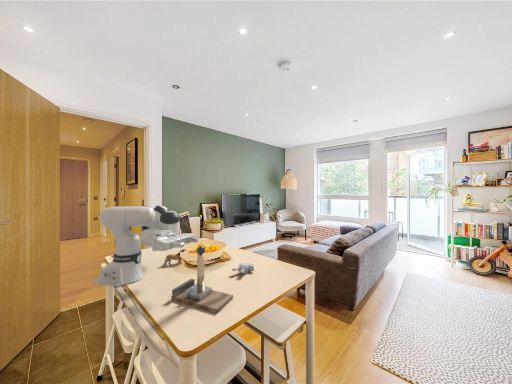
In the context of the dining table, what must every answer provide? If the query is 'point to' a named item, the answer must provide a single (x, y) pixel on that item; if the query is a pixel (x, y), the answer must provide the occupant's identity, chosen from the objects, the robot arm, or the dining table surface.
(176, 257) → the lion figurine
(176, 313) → the dining table surface
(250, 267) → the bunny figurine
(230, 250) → the dining table surface
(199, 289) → the grey upright rod
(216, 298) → the press base
